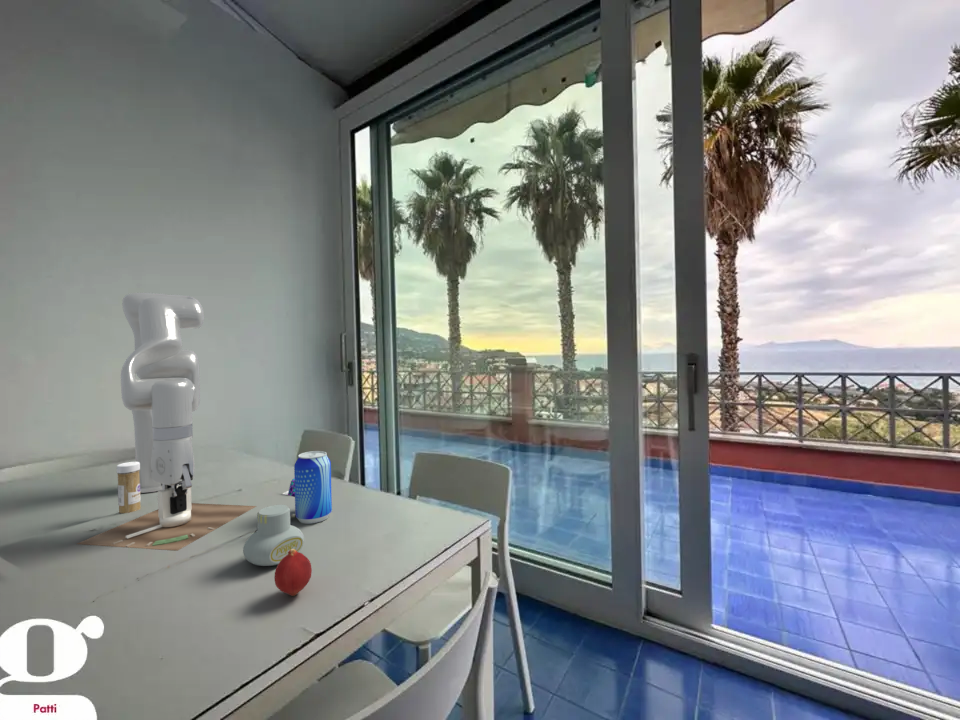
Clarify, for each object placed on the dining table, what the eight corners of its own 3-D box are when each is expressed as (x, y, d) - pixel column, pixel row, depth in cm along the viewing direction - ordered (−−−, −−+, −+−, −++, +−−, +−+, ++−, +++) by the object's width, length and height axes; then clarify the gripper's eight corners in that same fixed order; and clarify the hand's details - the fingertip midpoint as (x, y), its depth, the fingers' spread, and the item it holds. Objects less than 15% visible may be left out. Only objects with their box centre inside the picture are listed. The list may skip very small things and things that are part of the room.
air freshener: (259, 577, 77) (258, 523, 77) (235, 565, 81) (234, 514, 81) (311, 552, 86) (310, 504, 86) (287, 543, 90) (286, 497, 90)
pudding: (278, 506, 112) (278, 487, 112) (280, 492, 123) (280, 475, 123) (325, 500, 117) (325, 481, 117) (323, 487, 128) (323, 470, 128)
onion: (282, 586, 74) (281, 541, 74) (316, 584, 74) (315, 539, 74) (269, 606, 68) (268, 557, 68) (305, 604, 69) (304, 556, 68)
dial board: (174, 507, 111) (174, 501, 111) (256, 511, 108) (256, 505, 108) (76, 550, 88) (75, 543, 88) (177, 557, 84) (177, 549, 84)
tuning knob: (182, 514, 102) (181, 482, 102) (196, 519, 99) (195, 486, 99) (119, 535, 91) (118, 499, 91) (133, 541, 88) (132, 503, 88)
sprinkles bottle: (140, 516, 106) (138, 463, 106) (116, 520, 103) (114, 466, 103) (142, 510, 110) (140, 460, 109) (119, 514, 107) (118, 462, 107)
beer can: (339, 514, 106) (337, 451, 105) (313, 527, 98) (311, 460, 98) (314, 509, 109) (313, 448, 109) (287, 521, 102) (286, 456, 101)
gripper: (136, 433, 98) (139, 510, 98) (173, 439, 90) (176, 523, 91) (172, 427, 104) (174, 500, 105) (209, 433, 97) (211, 511, 97)
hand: (175, 510), depth 98 cm, fingers closed on tuning knob, 2 cm apart
